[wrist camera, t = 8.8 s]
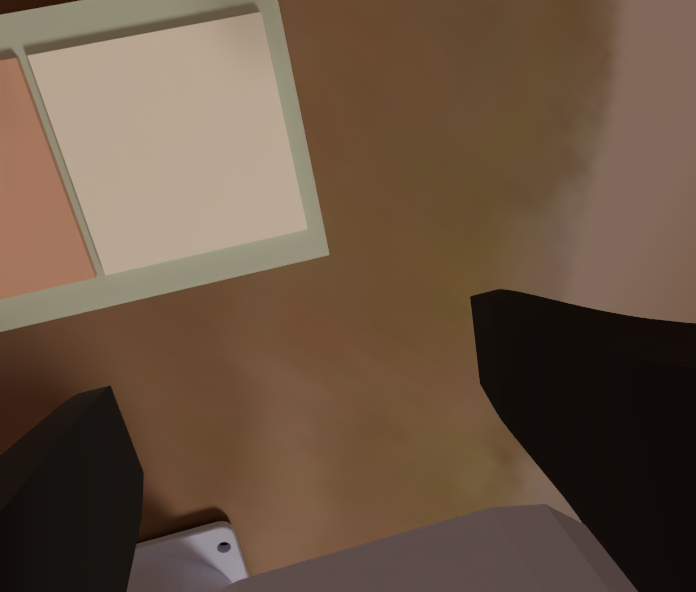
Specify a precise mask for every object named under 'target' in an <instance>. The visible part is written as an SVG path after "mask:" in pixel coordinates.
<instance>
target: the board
mask: <svg viewBox="0 0 696 592" xmlns="http://www.w3.org/2000/svg"><path fill="white" fill-rule="evenodd" d="M327 255H329V250H328V245H327V240H326V235H325V230H324V225H323V220H322V216H321V211H320V206H319V201H318V196H317V191H316V186H315V181H314V176H313V171H312V166H311V161H310V157H309V152H308V147H307V142H306V137H305V132H304V127H303V122H302V117H301V112H300V107H299V102H298V97H297V93H296V88H295V83H294V78H293V73H292V68H291V63H290V58H289V53H288V48H287V43H286V38H285V34H284V29H283V24H282V19H281V14H280V9H279V4H278V0H80V1H74V2H69V3H63V4H58V5H52V6H46V7H41V8H35V9H30V10H24V11H19V12H13V13H7V14H2V15H0V332H2V331H7V330H11V329H15V328H20V327H24V326H28V325H32V324H37V323H41V322H45V321H49V320H54V319H58V318H62V317H67V316H71V315H75V314H79V313H84V312H88V311H92V310H96V309H101V308H105V307H109V306H114V305H118V304H122V303H126V302H131V301H135V300H139V299H143V298H148V297H152V296H156V295H160V294H165V293H169V292H173V291H178V290H182V289H186V288H190V287H195V286H199V285H203V284H207V283H212V282H216V281H220V280H225V279H229V278H233V277H237V276H242V275H246V274H250V273H254V272H259V271H263V270H267V269H272V268H276V267H280V266H284V265H289V264H293V263H297V262H301V261H306V260H310V259H314V258H318V257H323V256H327Z"/></svg>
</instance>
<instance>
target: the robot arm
mask: <svg viewBox="0 0 696 592" xmlns="http://www.w3.org/2000/svg"><path fill="white" fill-rule="evenodd" d="M470 299H471V307H472V316H473V325H474V334H475V342H476V351H477V360H478V369H479V378H480V384H481V386H482V388H483V390H484V391H485V393H486V395H487V397H488V398H489V400H490V402H491V404H492V405H493V407H494V409H495V410H496V412H497V414H498V415H499V417H500V419H501V420H502V421H503V423H504V424H505V425H506V427H507V428H508V429H509V430H510V432H511V433H512V434H513V435H514V437H515V438H516V439H517V440H518V442H519V443H520V444H521V445H522V447H523V448H524V449H525V450H526V451H527V453H528V454H529V455H530V456H531V458H532V459H533V460H534V461H535V462H536V464H537V465H538V466H539V467H540V469H541V470H542V471H543V472H544V473H545V475H546V476H547V477H548V478H549V479H550V481H551V482H552V483H553V484H554V485H555V487H556V488H557V489H558V490H559V492H560V493H561V494H562V495H563V496H564V498H565V499H566V501H567V502H568V503H569V504H570V506H571V507H572V509H573V510H574V511H575V513H576V514H577V515H578V516H579V518H580V520H581V521H582V523H581V522H579V521H577V520H575V519H573V518H571V517H569V516H567V515H565V514H563V513H561V512H559V511H558V510H556V509H553V508H552V507H550V506H548V505H546V504H538V505H523V506H507V507H492V508H487V509H483V510H480V511H476V512H473V513H469V514H466V515H463V516H459V517H456V518H452V519H449V520H445V521H442V522H438V523H435V524H431V525H428V526H424V527H421V528H418V529H414V530H411V531H407V532H404V533H400V534H397V535H393V536H390V537H386V538H383V539H379V540H376V541H373V542H369V543H366V544H362V545H359V546H355V547H352V548H348V549H345V550H341V551H338V552H334V553H331V554H328V555H324V556H321V557H317V558H314V559H310V560H307V561H303V562H300V563H296V564H293V565H290V566H286V567H283V568H279V569H276V570H272V571H269V572H265V573H262V574H258V575H255V576H251V577H249V575H248V571H247V568H246V565H245V562H244V559H243V556H242V553H241V550H240V547H239V544H238V541H237V538H236V535H235V531H234V528H233V527H232V525H231V524H230V523H228V522H225V521H217V522H214V523H210V524H207V525H203V526H199V527H196V528H192V529H189V530H185V531H181V532H178V533H174V534H171V535H167V536H163V537H160V538H156V539H153V540H149V541H145V542H142V543H138V544H136V543H137V538H138V533H139V528H140V523H141V516H142V501H143V475H144V473H143V470H142V467H141V465H140V462H139V460H138V457H137V454H136V452H135V449H134V446H133V444H132V441H131V438H130V436H129V433H128V431H127V428H126V425H125V423H124V420H123V417H122V415H121V412H120V410H119V407H118V404H117V402H116V399H115V396H114V394H113V391H112V388H111V386H107V387H103V388H99V389H95V390H91V391H87V392H83V393H79V394H77V395H75V396H73V397H72V398H70V399H69V400H67V401H66V402H65V403H63V404H62V405H61V406H59V407H58V408H57V409H56V410H54V411H53V412H52V413H51V414H50V415H48V416H47V417H46V418H45V419H44V420H42V421H41V422H40V423H39V424H38V425H36V426H35V427H34V428H33V429H32V430H31V431H29V432H28V433H27V434H26V435H25V436H23V437H22V438H21V439H20V440H19V441H18V442H16V443H15V444H14V445H13V446H12V447H10V448H9V449H8V450H7V451H6V452H4V453H3V454H2V455H1V456H0V592H696V324H695V323H683V322H673V321H664V320H655V319H647V318H639V317H633V316H627V315H622V314H616V313H611V312H605V311H600V310H595V309H591V308H586V307H582V306H577V305H573V304H568V303H564V302H560V301H556V300H552V299H548V298H543V297H539V296H535V295H531V294H526V293H522V292H517V291H511V290H502V289H498V290H494V291H490V292H486V293H482V294H478V295H474V296H470ZM222 542H227V543H229V544H227V545H223V546H222V545H219V544H220V543H222Z"/></svg>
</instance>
